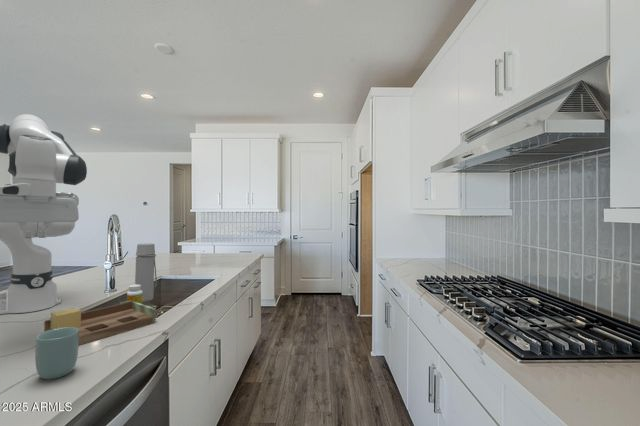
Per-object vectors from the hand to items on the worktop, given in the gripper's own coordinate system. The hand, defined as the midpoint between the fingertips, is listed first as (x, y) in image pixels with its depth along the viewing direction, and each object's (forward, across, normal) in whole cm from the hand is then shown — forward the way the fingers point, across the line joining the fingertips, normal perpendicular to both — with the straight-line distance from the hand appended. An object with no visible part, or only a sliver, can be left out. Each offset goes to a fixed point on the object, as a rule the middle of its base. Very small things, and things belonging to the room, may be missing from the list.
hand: (34, 238), depth 87 cm
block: (+29, -8, 0) cm, 30 cm away
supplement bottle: (+31, -33, -9) cm, 46 cm away
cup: (+31, +2, +26) cm, 41 cm away
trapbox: (+31, -17, +4) cm, 36 cm away
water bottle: (+31, -43, -19) cm, 56 cm away
